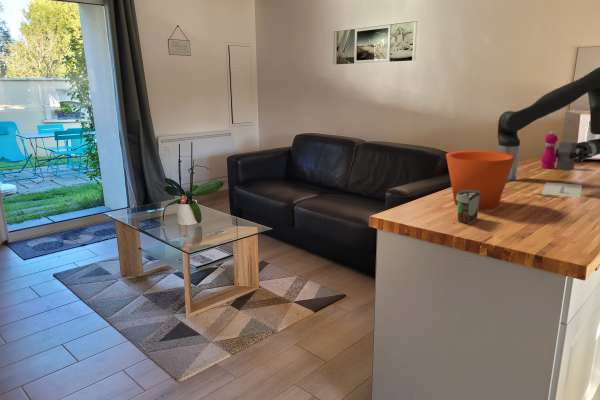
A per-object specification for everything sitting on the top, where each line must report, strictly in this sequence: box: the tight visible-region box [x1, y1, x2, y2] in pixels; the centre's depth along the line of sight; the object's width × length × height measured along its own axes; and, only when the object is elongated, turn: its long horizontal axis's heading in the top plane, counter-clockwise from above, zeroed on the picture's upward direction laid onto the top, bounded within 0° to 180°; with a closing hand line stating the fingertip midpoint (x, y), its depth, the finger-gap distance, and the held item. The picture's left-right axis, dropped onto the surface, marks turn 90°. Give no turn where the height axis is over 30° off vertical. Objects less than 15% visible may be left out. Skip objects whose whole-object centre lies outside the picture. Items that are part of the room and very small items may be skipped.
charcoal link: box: [556, 141, 578, 171], centre depth 181 cm, size 5×5×11 cm
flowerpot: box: [445, 149, 515, 210], centre depth 174 cm, size 25×25×20 cm
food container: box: [456, 190, 480, 226], centre depth 156 cm, size 12×6×10 cm, turn 141°
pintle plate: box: [540, 181, 583, 200], centre depth 190 cm, size 24×14×4 cm, turn 147°
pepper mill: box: [540, 131, 559, 170], centre depth 239 cm, size 7×7×20 cm
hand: (563, 155), depth 179 cm, fingers closed on charcoal link, 4 cm apart
